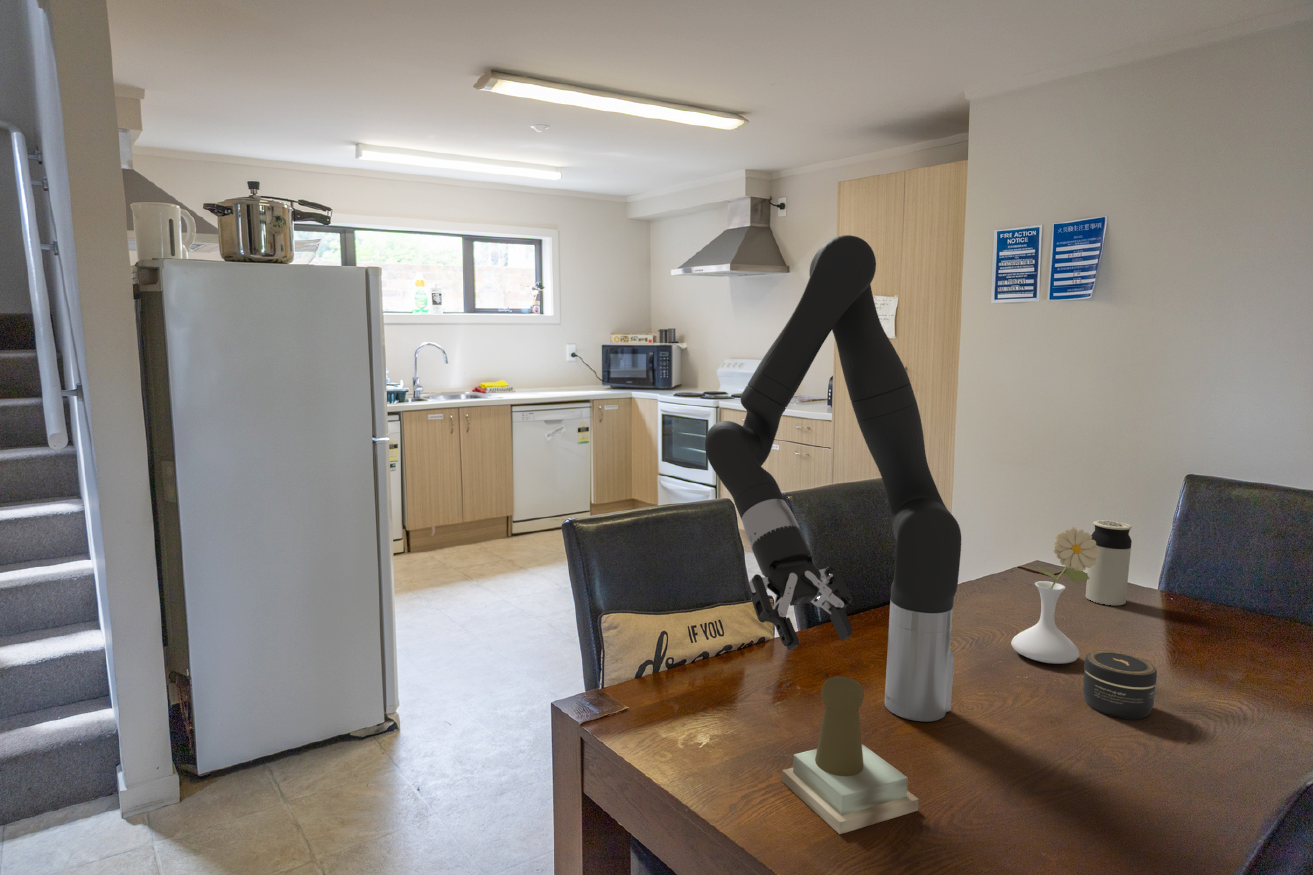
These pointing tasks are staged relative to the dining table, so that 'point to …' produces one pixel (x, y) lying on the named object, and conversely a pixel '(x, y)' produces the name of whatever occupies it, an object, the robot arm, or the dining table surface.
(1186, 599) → the dining table surface
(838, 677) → the cork
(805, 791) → the plinth
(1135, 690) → the jar
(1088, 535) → the flower in vase
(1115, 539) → the travel mug
